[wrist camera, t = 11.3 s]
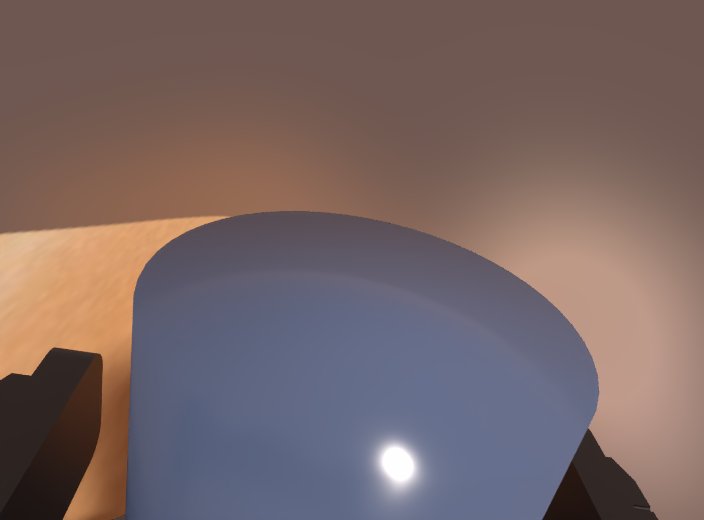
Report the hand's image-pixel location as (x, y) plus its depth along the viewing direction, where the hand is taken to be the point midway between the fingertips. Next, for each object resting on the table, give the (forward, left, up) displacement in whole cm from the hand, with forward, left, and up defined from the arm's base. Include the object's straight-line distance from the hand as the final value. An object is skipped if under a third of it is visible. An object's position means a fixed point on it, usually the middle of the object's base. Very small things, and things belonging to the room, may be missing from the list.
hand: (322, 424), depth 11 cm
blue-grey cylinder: (-1, -2, -7) cm, 7 cm away
